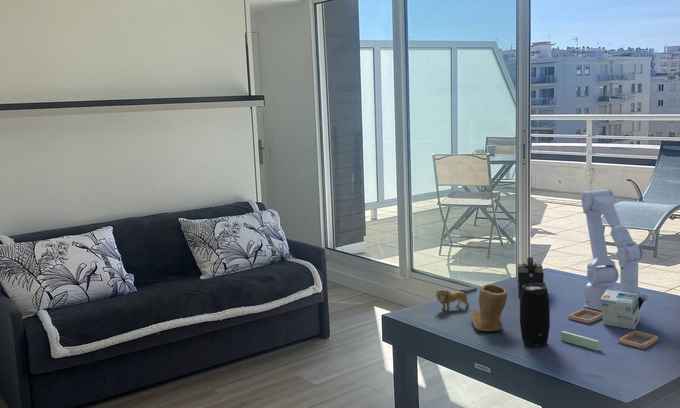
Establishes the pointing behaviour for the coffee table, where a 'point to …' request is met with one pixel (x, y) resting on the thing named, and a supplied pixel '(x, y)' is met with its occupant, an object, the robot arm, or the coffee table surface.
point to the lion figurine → (451, 298)
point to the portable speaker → (534, 314)
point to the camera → (529, 274)
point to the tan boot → (490, 308)
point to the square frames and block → (589, 317)
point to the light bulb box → (620, 309)
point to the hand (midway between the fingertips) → (628, 316)
